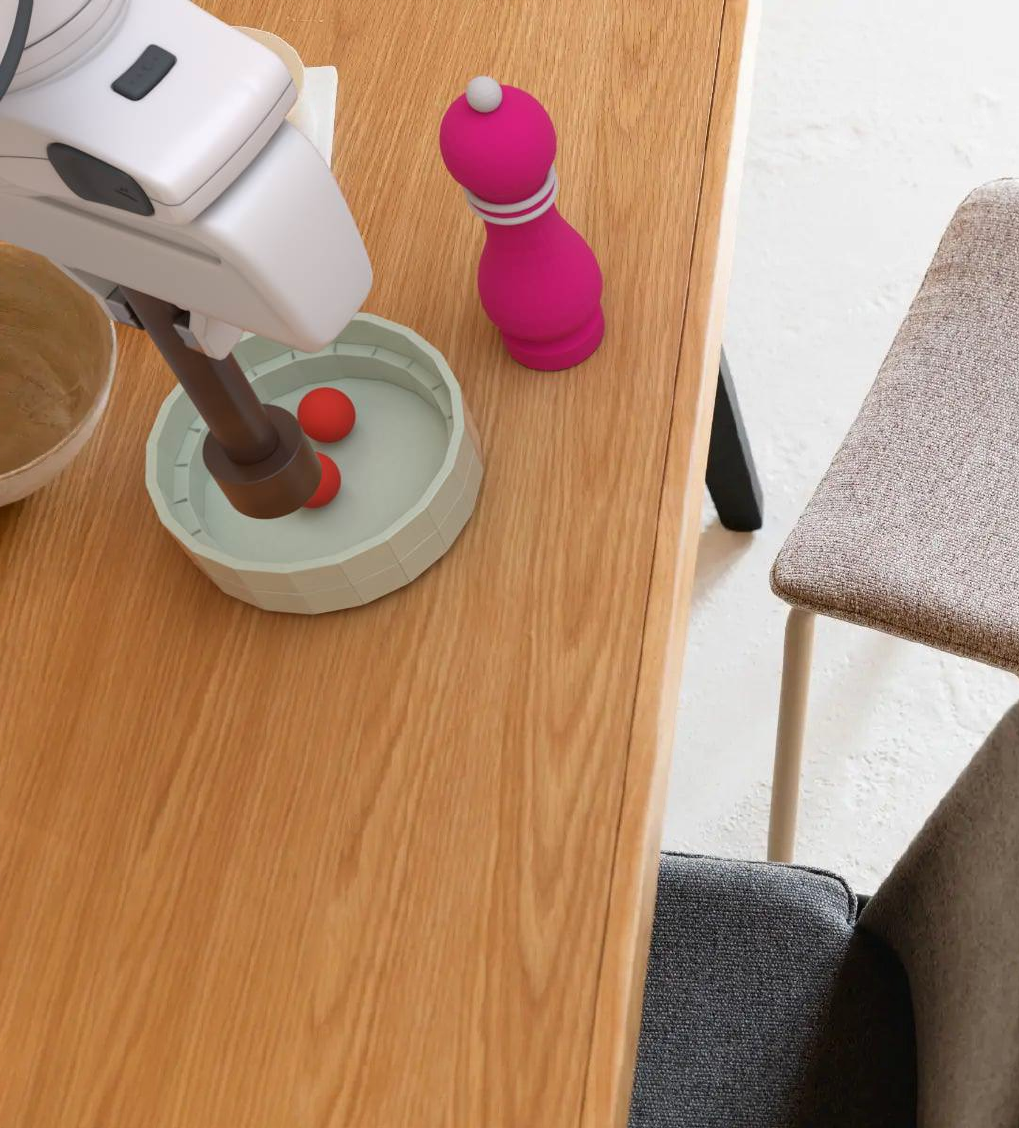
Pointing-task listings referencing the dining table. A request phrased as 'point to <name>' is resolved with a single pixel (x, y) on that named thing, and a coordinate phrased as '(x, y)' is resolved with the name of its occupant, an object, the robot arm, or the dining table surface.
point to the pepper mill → (523, 227)
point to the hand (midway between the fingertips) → (179, 328)
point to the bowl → (364, 458)
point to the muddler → (236, 423)
